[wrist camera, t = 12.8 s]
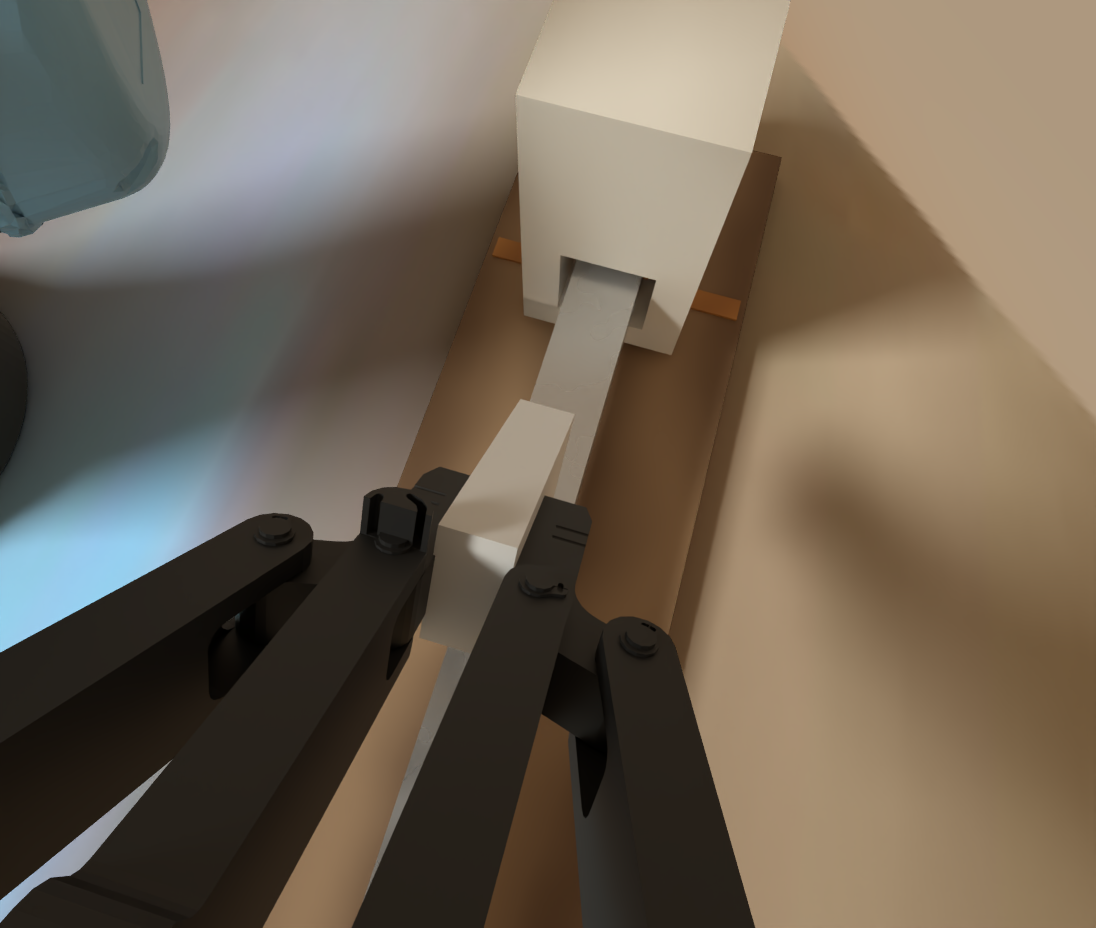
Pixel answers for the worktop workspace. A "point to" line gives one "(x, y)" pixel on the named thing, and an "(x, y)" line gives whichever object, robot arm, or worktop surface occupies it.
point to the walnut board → (607, 565)
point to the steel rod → (582, 389)
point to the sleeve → (638, 145)
